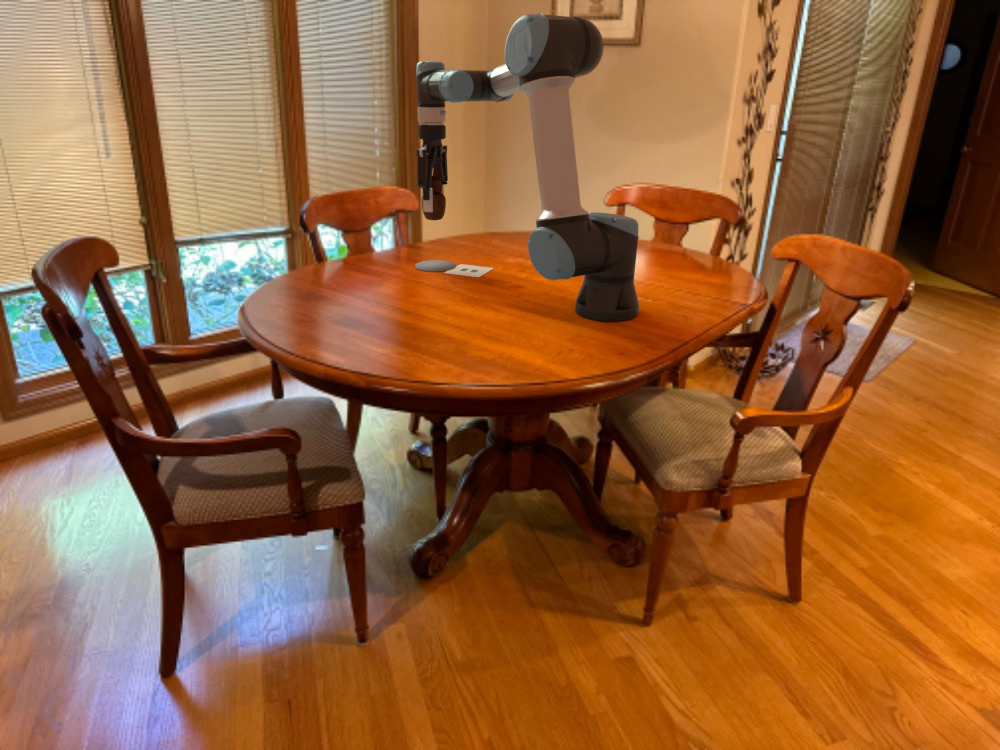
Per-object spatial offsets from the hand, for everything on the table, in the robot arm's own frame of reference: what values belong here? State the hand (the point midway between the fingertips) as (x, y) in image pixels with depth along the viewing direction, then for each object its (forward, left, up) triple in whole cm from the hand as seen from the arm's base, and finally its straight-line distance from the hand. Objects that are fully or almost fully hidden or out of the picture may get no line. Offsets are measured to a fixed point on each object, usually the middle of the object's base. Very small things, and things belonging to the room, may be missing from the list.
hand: (433, 209), depth 196 cm
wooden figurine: (0, 0, -3) cm, 3 cm away
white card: (0, -11, -17) cm, 20 cm away
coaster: (0, 0, -17) cm, 17 cm away
